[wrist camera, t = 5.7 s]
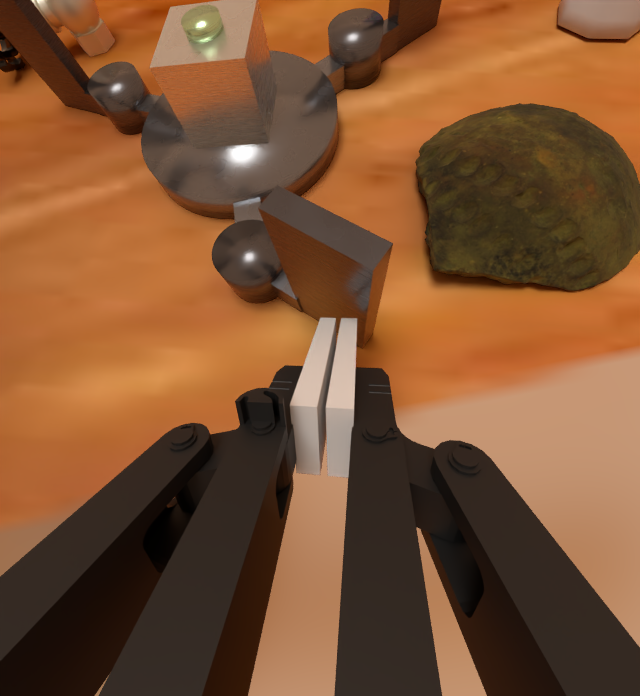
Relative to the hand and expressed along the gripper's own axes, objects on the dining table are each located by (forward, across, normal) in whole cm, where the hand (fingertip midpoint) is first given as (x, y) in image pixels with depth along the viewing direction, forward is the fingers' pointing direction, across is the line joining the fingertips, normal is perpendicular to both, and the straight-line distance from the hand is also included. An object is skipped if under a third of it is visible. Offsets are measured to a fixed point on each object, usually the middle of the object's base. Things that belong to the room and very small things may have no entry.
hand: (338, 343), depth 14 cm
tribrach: (+17, -11, +12) cm, 24 cm away
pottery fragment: (+11, +11, +5) cm, 16 cm away
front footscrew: (+6, -3, 0) cm, 7 cm away
